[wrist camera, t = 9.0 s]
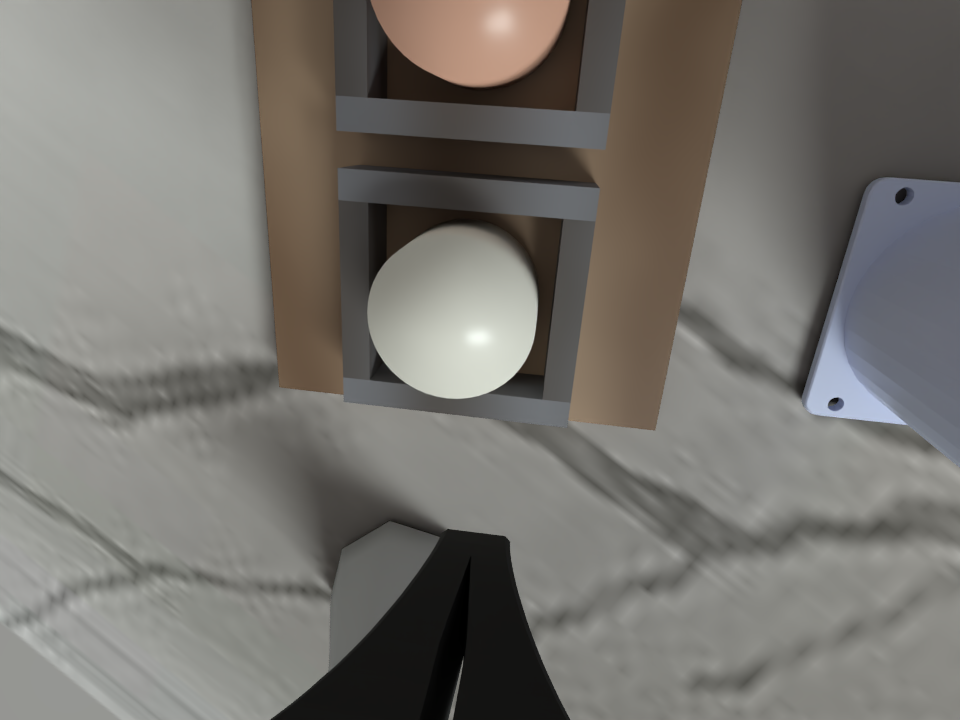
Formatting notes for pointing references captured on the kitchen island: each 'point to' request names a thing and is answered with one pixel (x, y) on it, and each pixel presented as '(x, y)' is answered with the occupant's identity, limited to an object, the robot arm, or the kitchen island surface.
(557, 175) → the three-slot key tray
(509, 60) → the terracotta key
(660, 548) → the kitchen island surface
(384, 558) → the flask
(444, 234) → the cream rounded piece
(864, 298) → the robot arm
